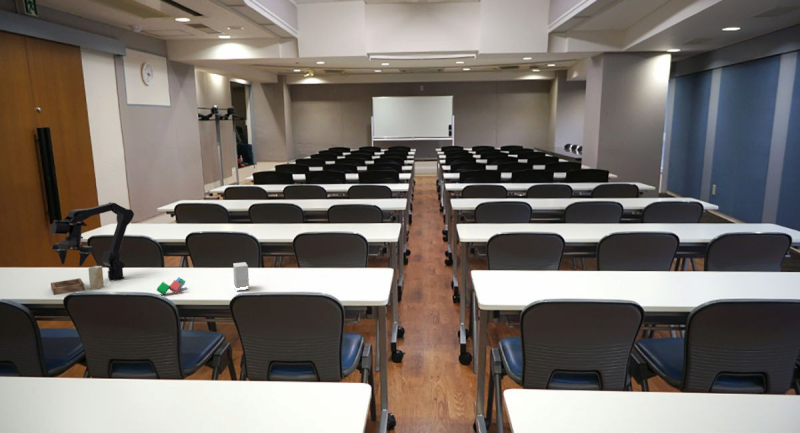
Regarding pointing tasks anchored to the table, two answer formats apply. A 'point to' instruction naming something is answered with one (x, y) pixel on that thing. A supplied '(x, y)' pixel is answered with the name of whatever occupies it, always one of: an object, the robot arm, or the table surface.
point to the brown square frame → (67, 286)
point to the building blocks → (171, 286)
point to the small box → (240, 275)
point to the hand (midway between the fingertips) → (71, 264)
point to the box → (96, 277)
